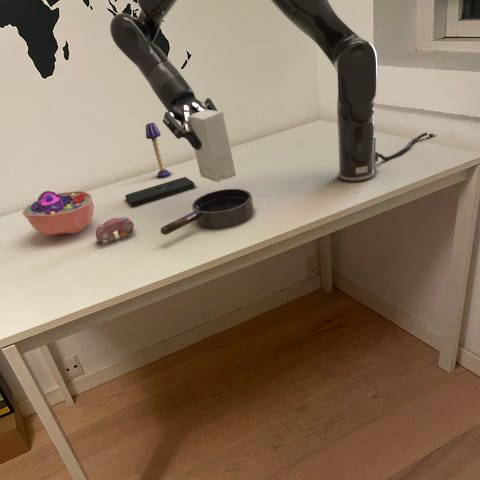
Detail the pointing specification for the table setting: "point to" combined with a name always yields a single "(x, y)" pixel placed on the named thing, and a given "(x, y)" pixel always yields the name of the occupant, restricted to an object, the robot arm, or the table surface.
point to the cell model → (60, 212)
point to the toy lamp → (156, 147)
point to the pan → (224, 208)
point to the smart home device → (159, 191)
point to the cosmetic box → (212, 145)
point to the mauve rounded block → (114, 229)
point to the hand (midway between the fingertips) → (211, 142)
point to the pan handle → (180, 222)
